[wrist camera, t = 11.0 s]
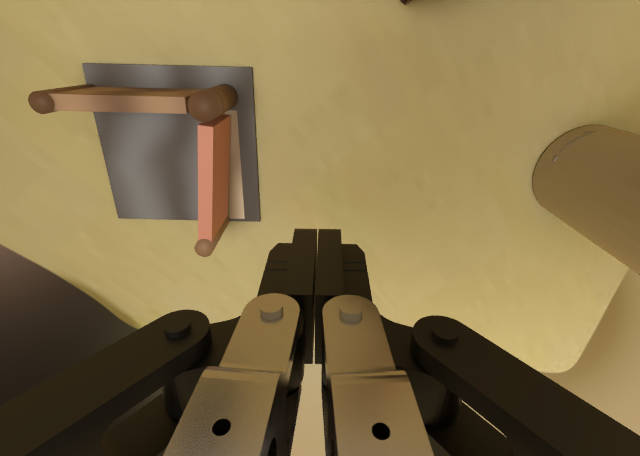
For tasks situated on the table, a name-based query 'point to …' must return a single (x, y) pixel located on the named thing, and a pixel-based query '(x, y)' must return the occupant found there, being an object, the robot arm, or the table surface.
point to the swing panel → (212, 182)
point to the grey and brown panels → (165, 133)
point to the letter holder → (405, 1)
